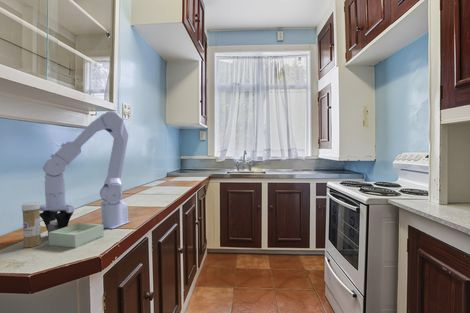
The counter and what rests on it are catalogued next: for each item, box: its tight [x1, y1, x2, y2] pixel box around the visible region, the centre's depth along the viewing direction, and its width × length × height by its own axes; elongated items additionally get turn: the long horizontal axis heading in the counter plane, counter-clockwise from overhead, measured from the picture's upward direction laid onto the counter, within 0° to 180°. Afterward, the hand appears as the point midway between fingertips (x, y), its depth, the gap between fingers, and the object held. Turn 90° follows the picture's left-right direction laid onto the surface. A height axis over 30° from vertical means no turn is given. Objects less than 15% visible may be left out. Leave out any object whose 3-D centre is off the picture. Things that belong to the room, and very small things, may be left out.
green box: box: [47, 222, 105, 249], centre depth 88 cm, size 11×11×4 cm
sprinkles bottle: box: [21, 201, 42, 248], centre depth 85 cm, size 5×5×14 cm
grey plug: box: [47, 220, 58, 239], centre depth 94 cm, size 4×4×6 cm
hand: (57, 231), depth 94 cm, fingers open, 5 cm apart
